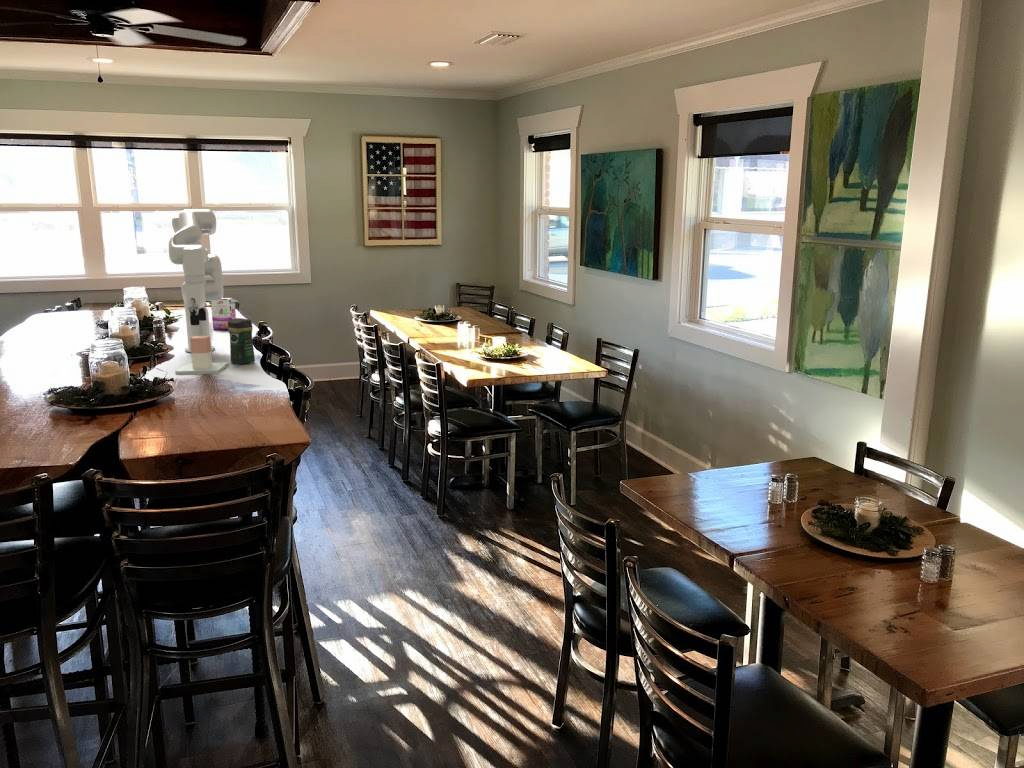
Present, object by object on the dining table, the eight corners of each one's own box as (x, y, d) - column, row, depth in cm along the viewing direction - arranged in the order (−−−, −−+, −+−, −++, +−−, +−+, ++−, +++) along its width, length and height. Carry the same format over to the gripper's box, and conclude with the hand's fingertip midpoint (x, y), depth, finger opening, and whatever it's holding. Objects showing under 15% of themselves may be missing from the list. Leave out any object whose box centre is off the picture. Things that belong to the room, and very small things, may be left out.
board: (187, 366, 328) (187, 363, 327) (228, 365, 329) (228, 362, 329) (175, 374, 312) (175, 371, 312) (218, 373, 313) (217, 370, 313)
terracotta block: (195, 350, 322) (194, 335, 320) (211, 350, 322) (209, 335, 321) (191, 353, 316) (190, 338, 314) (207, 353, 316) (205, 338, 315)
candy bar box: (237, 329, 422) (235, 297, 419) (232, 330, 418) (230, 299, 414) (217, 328, 424) (215, 297, 420) (212, 329, 419) (210, 298, 416)
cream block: (196, 365, 323) (195, 350, 322) (212, 365, 324) (211, 350, 322) (192, 368, 317) (191, 353, 316) (208, 368, 318) (207, 353, 316)
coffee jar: (258, 362, 336) (255, 318, 332) (243, 365, 329) (240, 320, 325) (242, 359, 341) (239, 316, 337) (227, 363, 334) (223, 318, 330)
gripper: (191, 276, 321) (195, 318, 325) (178, 282, 304) (182, 327, 308) (210, 276, 321) (214, 318, 326) (198, 282, 305) (202, 327, 309)
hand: (198, 322), depth 317 cm, fingers open, 9 cm apart
